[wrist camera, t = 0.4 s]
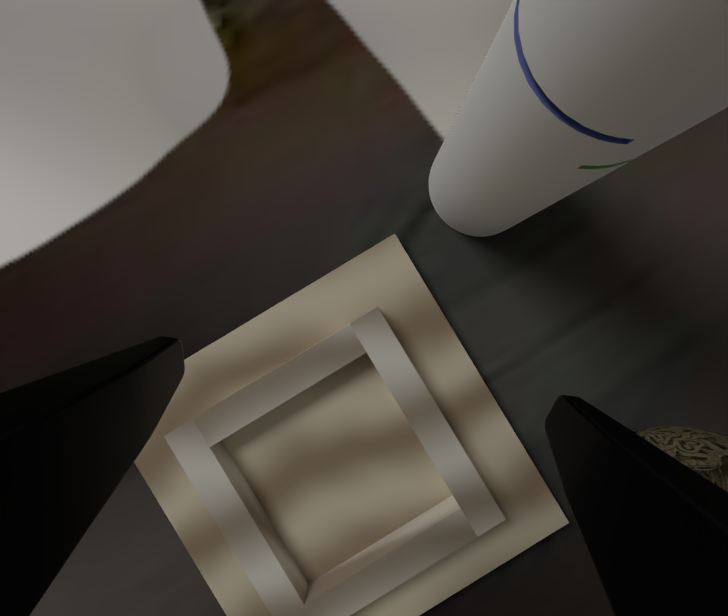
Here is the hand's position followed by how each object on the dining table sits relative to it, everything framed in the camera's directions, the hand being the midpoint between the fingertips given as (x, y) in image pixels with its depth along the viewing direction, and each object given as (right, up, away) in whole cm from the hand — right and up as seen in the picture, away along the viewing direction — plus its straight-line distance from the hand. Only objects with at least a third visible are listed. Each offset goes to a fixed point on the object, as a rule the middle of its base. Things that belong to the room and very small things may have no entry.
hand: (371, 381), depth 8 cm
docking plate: (-2, -8, +15) cm, 17 cm away
